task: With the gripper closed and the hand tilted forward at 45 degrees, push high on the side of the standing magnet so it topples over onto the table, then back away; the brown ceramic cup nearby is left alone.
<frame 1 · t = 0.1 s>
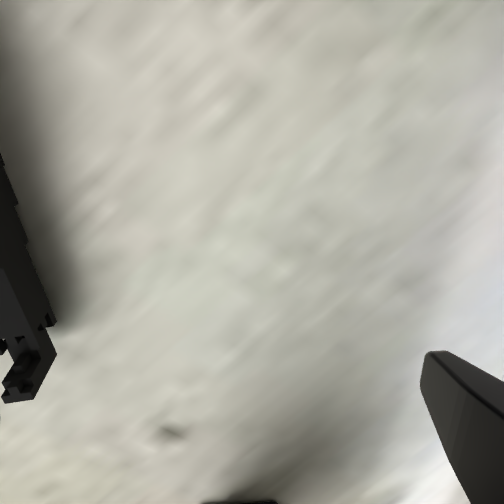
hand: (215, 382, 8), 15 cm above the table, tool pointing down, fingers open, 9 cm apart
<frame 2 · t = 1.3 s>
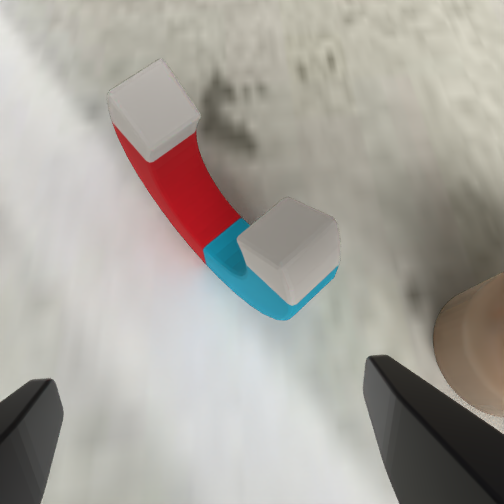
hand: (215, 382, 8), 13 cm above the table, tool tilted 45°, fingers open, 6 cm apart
cup: (496, 349, 22), on the table
magnet: (224, 252, 24), on the table
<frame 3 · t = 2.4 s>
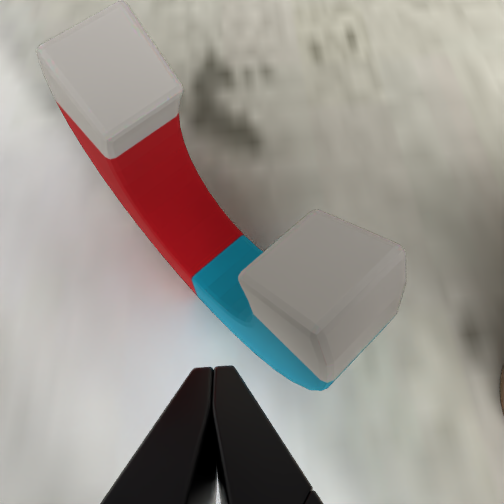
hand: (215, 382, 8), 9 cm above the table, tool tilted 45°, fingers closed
magnet: (221, 278, 18), on the table
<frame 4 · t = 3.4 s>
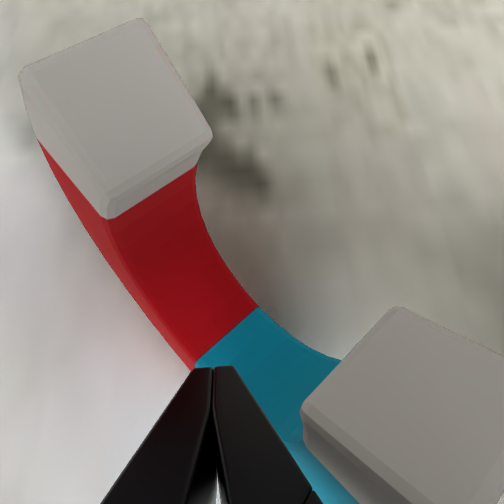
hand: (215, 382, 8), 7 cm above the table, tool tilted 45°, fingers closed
magnet: (223, 352, 15), on the table, touching gripper
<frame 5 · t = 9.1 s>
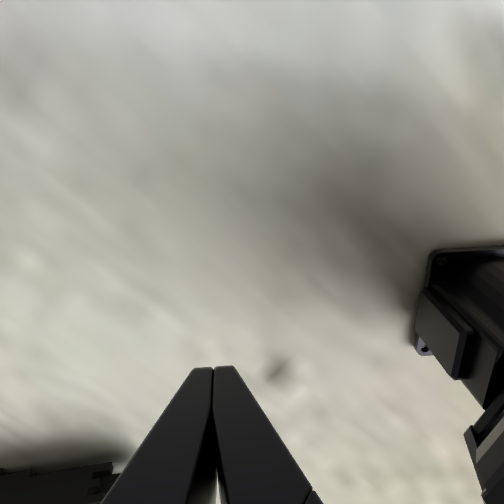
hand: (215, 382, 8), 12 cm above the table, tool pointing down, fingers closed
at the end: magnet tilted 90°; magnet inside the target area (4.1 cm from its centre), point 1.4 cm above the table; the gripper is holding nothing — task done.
